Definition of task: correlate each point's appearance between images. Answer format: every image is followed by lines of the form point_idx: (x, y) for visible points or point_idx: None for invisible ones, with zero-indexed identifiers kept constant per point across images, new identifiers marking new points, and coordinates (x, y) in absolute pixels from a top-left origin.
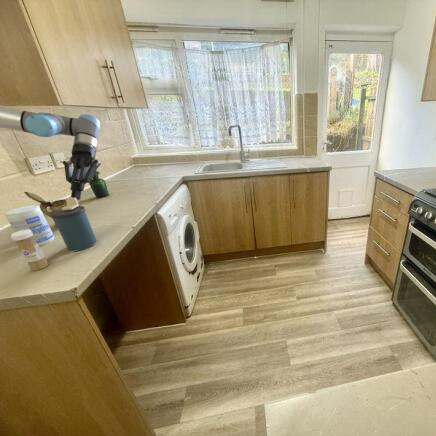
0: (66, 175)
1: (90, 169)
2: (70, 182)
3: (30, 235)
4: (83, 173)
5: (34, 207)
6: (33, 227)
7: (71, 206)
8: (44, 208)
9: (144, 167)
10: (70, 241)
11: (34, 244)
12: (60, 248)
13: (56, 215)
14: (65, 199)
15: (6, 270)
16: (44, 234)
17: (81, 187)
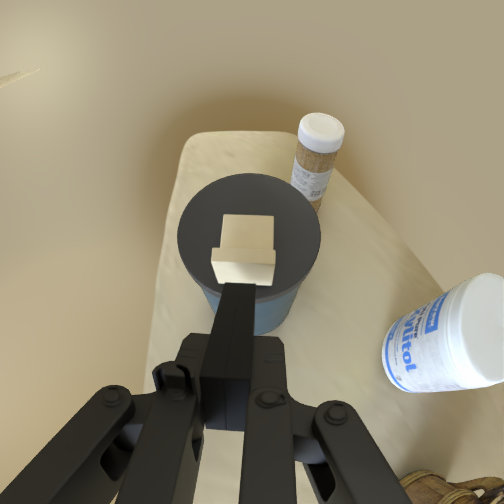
0: (377, 468)
1: (17, 490)
2: (310, 415)
3: (298, 131)
4: (125, 485)
5: (472, 344)
6: (423, 308)
7: (233, 235)
8: (489, 485)
9: None
10: None
11: (296, 153)
12: (328, 311)
13: (265, 175)
14: (274, 252)
15: (381, 218)
16: (397, 335)
17: (182, 345)
